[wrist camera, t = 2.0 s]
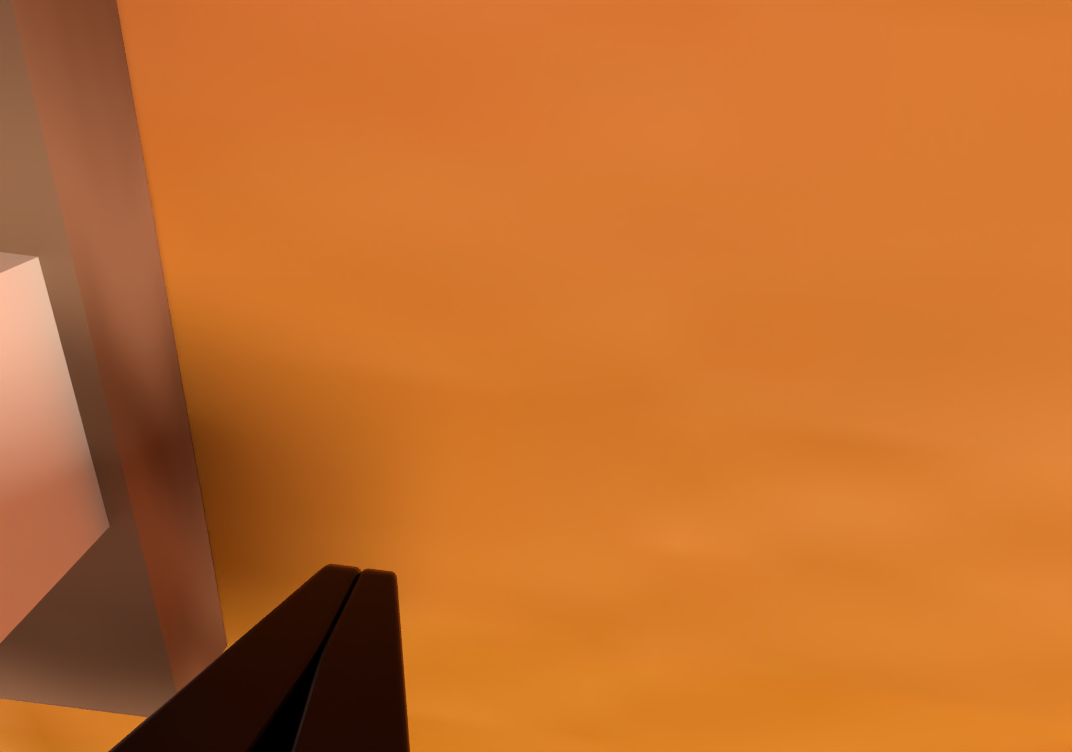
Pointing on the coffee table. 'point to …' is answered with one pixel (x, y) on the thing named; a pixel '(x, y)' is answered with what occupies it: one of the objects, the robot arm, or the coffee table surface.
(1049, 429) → the coffee table surface
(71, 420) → the peach square block
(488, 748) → the coffee table surface
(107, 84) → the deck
